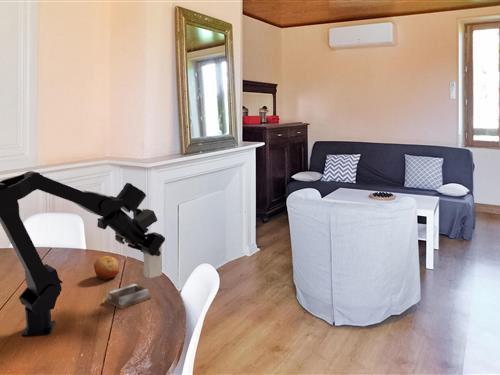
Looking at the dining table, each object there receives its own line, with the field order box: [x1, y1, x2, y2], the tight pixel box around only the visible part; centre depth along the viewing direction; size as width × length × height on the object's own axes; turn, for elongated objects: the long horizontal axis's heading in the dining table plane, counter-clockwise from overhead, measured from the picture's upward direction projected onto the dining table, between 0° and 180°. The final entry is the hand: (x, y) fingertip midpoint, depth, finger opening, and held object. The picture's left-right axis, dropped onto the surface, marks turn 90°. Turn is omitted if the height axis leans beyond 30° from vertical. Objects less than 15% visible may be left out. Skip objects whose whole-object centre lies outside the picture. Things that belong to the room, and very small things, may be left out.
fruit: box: [93, 255, 120, 281], centre depth 145 cm, size 8×8×8 cm
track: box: [105, 283, 152, 310], centre depth 128 cm, size 10×8×3 cm
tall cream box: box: [143, 244, 163, 279], centre depth 133 cm, size 4×3×12 cm, turn 136°
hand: (156, 253), depth 134 cm, fingers closed on tall cream box, 3 cm apart
